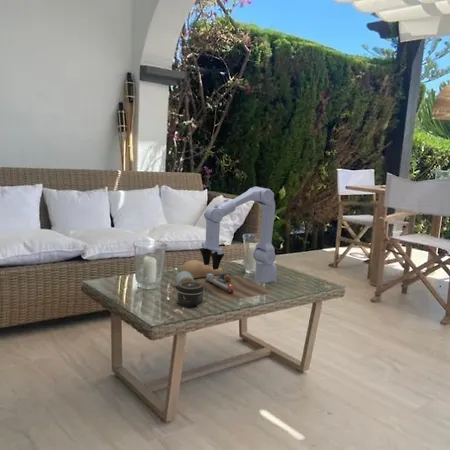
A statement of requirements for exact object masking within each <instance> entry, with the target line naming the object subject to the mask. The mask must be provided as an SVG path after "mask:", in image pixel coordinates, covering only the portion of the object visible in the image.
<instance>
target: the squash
mask: <svg viewBox="0 0 450 450" xmlns="http://www.w3.org/2000/svg"><path fill="white" fill-rule="evenodd" d="M182 271H187V272H189V273H190V274H191V275H192V276H193V279H194V280H195V279H201V278H206V276H207V273H212V274H214V276H219V273H224V271H223V267H222V266H220V267H219V268H218V269H216V270H214V269H213V266H211V265H210V264H209V265H204V261H203V262H202V261H200V260H198V259H190V260H187V261H185V262H184V263H183V264H182Z"/></svg>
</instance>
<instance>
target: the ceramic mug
mask: <svg viewBox="0 0 450 450" xmlns="http://www.w3.org/2000/svg"><path fill="white" fill-rule="evenodd" d="M195 281H196V280H195V278H194V279H193V276H192V275H191V274H190V273H189V272H187V271H183V270H182V271H180V272H179V273H177V274H176V276H175V284H176V286H177V287H178V285H179V284H180V283H182V282H195Z"/></svg>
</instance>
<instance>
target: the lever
mask: <svg viewBox="0 0 450 450" xmlns="http://www.w3.org/2000/svg"><path fill="white" fill-rule="evenodd" d="M214 277H215V275H214V274H212V273H207V276H206V277H205V278H206V279H205V280H206V281H208V282H212V283H214V284H216V285H217V286H219V287H221V288H223V289H225V290H227V292H228V293H233V292H234V284H228V285H226V281H225V280H223V279H221V278H220V279H217V280H216V279H214Z"/></svg>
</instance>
